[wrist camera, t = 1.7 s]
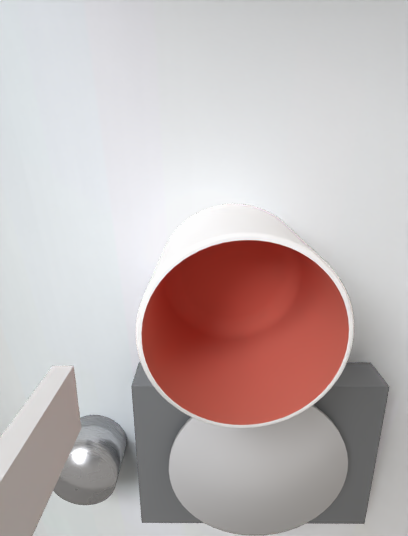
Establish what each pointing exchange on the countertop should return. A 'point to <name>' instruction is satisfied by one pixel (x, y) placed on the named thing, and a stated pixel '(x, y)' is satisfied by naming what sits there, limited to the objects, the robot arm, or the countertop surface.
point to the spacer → (92, 462)
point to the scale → (261, 460)
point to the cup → (242, 320)
